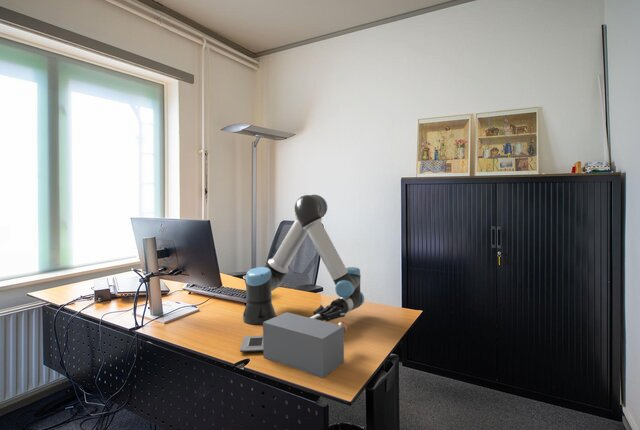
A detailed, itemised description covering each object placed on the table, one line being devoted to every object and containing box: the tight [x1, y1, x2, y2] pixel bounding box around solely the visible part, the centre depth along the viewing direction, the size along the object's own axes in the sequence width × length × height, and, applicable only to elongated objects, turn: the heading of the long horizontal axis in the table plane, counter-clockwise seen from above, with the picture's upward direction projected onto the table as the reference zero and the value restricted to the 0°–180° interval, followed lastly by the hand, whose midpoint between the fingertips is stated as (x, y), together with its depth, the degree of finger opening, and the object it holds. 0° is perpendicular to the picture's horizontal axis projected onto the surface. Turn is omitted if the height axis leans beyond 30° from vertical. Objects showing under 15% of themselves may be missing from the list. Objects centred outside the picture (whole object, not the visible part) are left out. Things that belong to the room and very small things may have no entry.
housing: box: [262, 311, 345, 379], centre depth 127 cm, size 13×26×13 cm, turn 55°
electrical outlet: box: [239, 334, 264, 353], centre depth 139 cm, size 13×10×2 cm
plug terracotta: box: [336, 321, 349, 335], centre depth 131 cm, size 12×4×4 cm, turn 145°
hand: (309, 322), depth 142 cm, fingers closed
